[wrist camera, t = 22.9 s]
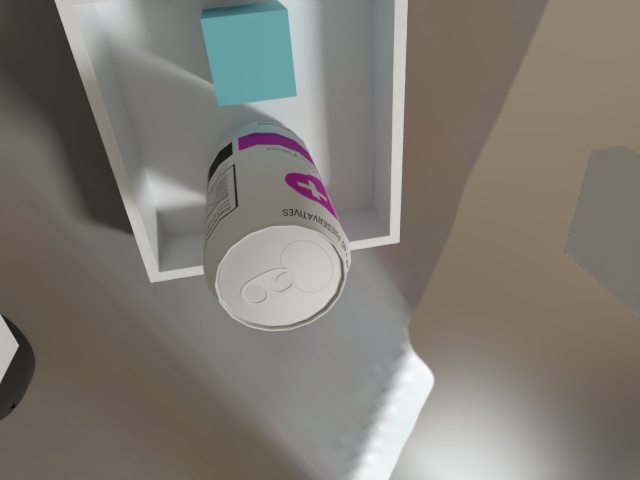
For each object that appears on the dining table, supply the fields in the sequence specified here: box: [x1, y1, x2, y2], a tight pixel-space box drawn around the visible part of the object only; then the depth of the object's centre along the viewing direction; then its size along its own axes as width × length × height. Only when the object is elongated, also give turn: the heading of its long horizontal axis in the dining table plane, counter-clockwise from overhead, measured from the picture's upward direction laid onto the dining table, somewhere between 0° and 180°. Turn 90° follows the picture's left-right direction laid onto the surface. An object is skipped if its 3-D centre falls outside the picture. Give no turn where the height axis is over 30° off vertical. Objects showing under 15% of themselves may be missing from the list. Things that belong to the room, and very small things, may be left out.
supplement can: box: [203, 122, 351, 331], centre depth 31 cm, size 8×8×15 cm
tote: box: [55, 0, 408, 282], centre depth 33 cm, size 20×20×6 cm
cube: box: [200, 1, 297, 107], centre depth 30 cm, size 5×5×5 cm
